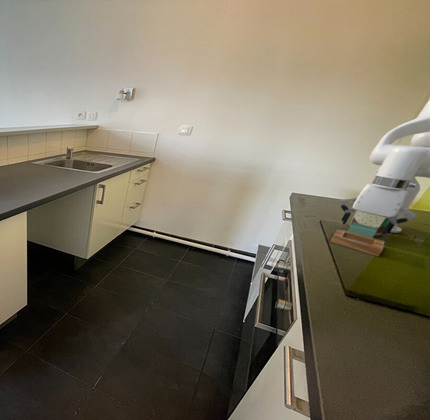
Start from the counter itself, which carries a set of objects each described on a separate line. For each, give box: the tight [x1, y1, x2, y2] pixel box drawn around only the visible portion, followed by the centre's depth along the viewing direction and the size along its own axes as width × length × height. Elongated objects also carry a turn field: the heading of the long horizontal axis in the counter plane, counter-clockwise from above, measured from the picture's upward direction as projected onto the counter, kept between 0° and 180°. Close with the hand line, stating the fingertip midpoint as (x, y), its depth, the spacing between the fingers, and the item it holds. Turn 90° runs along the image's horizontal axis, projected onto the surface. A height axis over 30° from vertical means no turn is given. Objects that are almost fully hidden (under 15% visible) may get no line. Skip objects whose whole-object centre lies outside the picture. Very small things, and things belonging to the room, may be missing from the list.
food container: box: [349, 210, 398, 238], centre depth 94 cm, size 12×6×10 cm, turn 168°
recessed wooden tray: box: [329, 228, 385, 257], centre depth 85 cm, size 11×11×2 cm
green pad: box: [348, 222, 377, 238], centre depth 91 cm, size 6×6×4 cm
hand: (363, 228), depth 90 cm, fingers open, 9 cm apart
